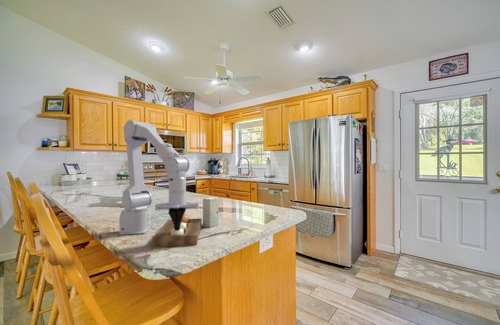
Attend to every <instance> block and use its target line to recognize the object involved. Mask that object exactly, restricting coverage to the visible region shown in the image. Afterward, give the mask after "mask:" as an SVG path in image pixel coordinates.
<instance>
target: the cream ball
mask: <svg viewBox="0 0 500 325" xmlns="http://www.w3.org/2000/svg"><path fill="white" fill-rule="evenodd" d="M180 228H187V226H186V223H184V222H181V225H180Z"/></svg>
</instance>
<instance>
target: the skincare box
mask: <svg viewBox="0 0 500 325" xmlns="http://www.w3.org/2000/svg"><path fill="white" fill-rule="evenodd" d="M218 225H219V197H217V196H216V197H215V196H210V197H209V196H208V197H205V198H202V227H205V228H213V227H215V226H218Z"/></svg>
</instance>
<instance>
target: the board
mask: <svg viewBox="0 0 500 325" xmlns="http://www.w3.org/2000/svg"><path fill="white" fill-rule="evenodd" d="M186 226H187V228H183V229H184V235H171V230H172V229H174V224H173V221H172V219H167V220H166V222H165V223H164V224H163V225H162V226H161V227H160V228H159V230H157V232H156V234H155V235H154V236H153V237H152V247H153V248H158V247H159V248H162V247H176V246H177V247H178V246H179V247H180V246H192V245H193V246H195V245H197V244H198V240H199V238H200V237H199V236H200V234H201V229H202V227H203V217H202V218H200V217H199V218H189V223H186Z"/></svg>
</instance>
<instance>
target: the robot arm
mask: <svg viewBox="0 0 500 325" xmlns="http://www.w3.org/2000/svg"><path fill="white" fill-rule="evenodd" d="M123 138H124V142H125V144H126V155H127V168H128V169H127V170H128V184H129V185H128V186H127V187H126V188H125V189H124V190H122V198H121V206H122V207H123V210H121V212H120V215H119V233H118V235H121V236H123V235H140V234H141V235H142V234H145V233H147V232H148V231H149V230H150V229H151V226H148V209H150V206H151V204H152V203H153V196H152V194H151V188H150V187H149V186H147V185H146V184H145V180H144V168H143V166H144V165H143V154H142V152H143V151H142V146H143V145H145V144H147V143H148V142H149V143H150V144H151V145H152V146H153V147H154V148H155V153H156V155H157V156H158V157H159V158H160V159H161V161H162V162H163V163H164V170H165V171H166V178H167V179H168V202H163V203H162V202H161V203H156V204H154V210H155V211H163V210H166V211H167V210H168V215H169V216H170V220H172V221H173V224H174V228H175V231H177V230H180V225H181V221H182V218H183V215H185V213H186V210H192V209H193V210H198V209H200V208H199V206H200V202H191V201H190V202H188V201H187V176H186V175H187V172H188V171H189V170H190V162H189V159H188V157H186V156H182V155H180V154H179V152H177V151H176V150H175V148H173V145H172V144H171V143H168V142H164V140H163V139H162V138H161V136H160V134H158V132H157V128H156V126H155V125H154V124H153V123H152V122H149V123H148V122H144V121H138V120H133V119H128V120H127V121H126V122H125V124H124V126H123Z"/></svg>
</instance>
